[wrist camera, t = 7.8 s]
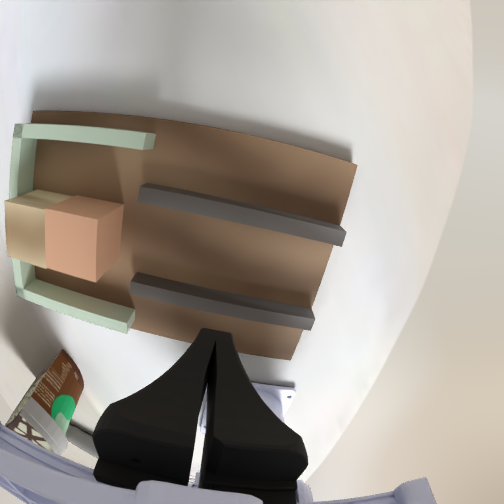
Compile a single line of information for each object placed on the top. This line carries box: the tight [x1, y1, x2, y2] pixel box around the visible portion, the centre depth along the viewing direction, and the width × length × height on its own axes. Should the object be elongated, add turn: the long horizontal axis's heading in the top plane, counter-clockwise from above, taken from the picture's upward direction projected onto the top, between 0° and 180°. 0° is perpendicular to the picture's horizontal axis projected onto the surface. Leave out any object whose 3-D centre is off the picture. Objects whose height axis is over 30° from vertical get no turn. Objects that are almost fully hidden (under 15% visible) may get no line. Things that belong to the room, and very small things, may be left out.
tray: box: [9, 123, 156, 334], centre depth 18 cm, size 14×11×2 cm
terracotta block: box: [45, 195, 124, 282], centre depth 17 cm, size 4×4×4 cm
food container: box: [5, 349, 84, 456], centre depth 22 cm, size 12×6×10 cm, turn 130°
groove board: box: [31, 111, 357, 360], centre depth 19 cm, size 16×24×2 cm, turn 77°
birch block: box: [5, 189, 73, 269], centre depth 17 cm, size 4×4×4 cm
